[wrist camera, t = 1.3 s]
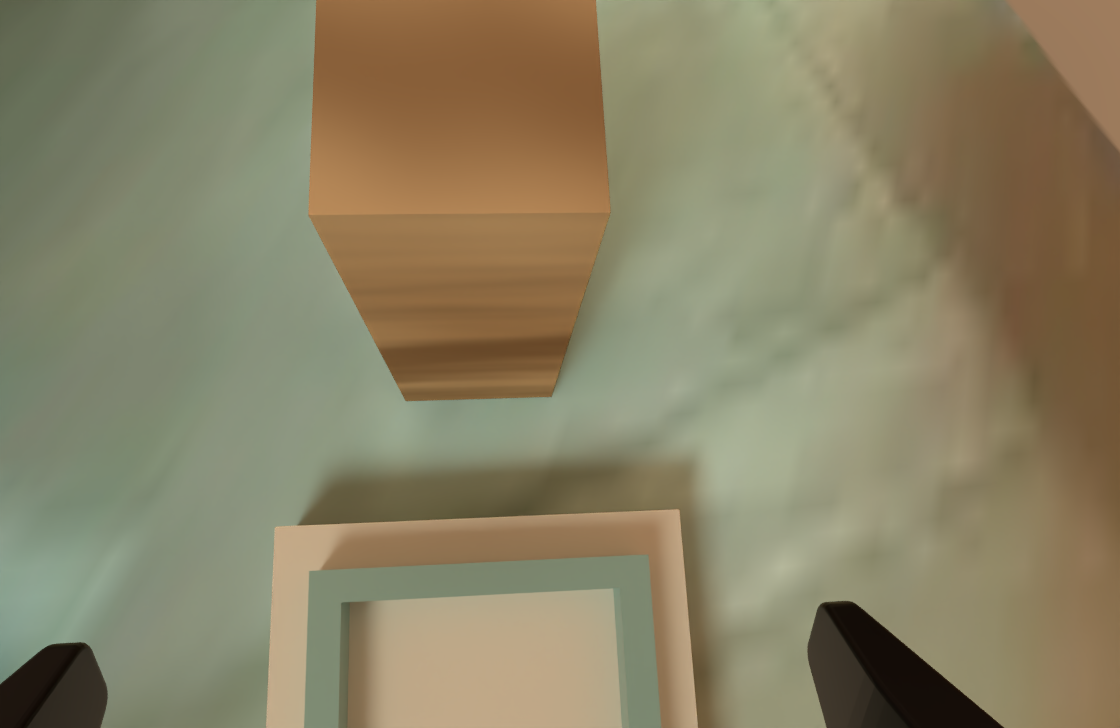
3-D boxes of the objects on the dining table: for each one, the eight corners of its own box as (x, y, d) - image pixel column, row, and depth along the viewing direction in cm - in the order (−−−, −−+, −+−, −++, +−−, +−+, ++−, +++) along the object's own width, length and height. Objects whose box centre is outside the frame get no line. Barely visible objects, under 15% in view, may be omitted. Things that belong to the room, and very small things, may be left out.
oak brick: (551, 396, 24) (610, 212, 12) (405, 401, 24) (308, 214, 11) (545, 262, 26) (593, -35, 13) (406, 264, 25) (317, -41, 13)
